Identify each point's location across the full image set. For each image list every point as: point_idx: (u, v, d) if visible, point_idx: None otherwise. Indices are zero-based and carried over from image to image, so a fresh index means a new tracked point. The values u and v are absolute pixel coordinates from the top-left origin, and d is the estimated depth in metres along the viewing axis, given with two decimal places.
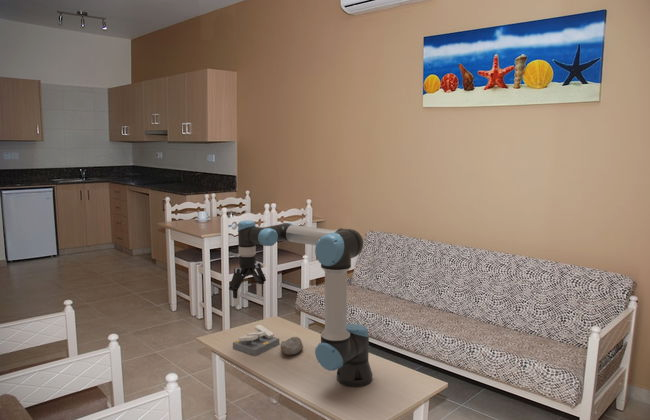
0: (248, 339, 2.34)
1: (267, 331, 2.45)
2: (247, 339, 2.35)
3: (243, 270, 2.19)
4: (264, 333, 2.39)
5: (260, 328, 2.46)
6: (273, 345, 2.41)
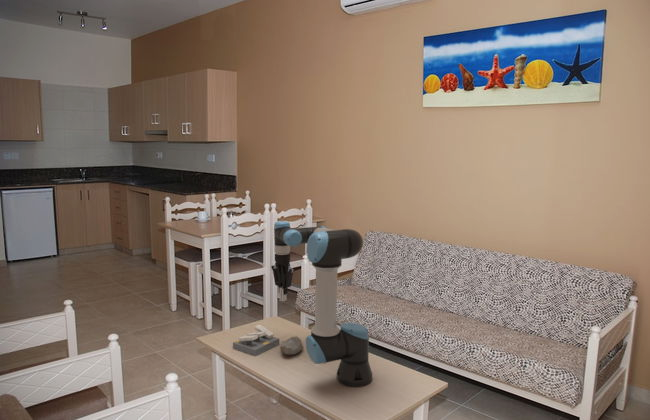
0: (248, 339, 2.34)
1: (267, 331, 2.45)
2: (247, 339, 2.35)
3: (276, 265, 2.41)
4: (264, 333, 2.39)
5: (260, 328, 2.46)
6: (273, 345, 2.41)
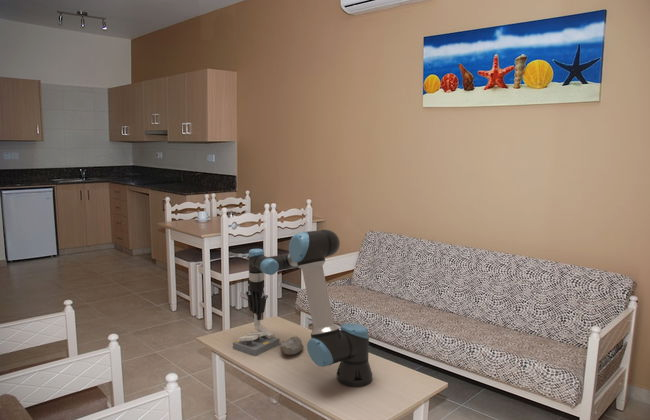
0: (248, 339, 2.34)
1: (267, 331, 2.45)
2: (247, 339, 2.35)
3: (250, 291, 2.47)
4: (264, 333, 2.39)
5: (260, 328, 2.46)
6: (273, 345, 2.41)
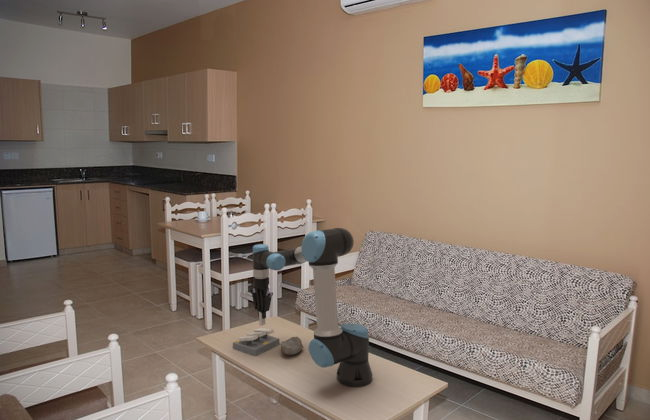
0: (248, 339, 2.34)
1: (266, 329, 2.45)
2: (247, 339, 2.35)
3: (255, 289, 2.37)
4: (264, 333, 2.39)
5: (259, 329, 2.47)
6: (273, 345, 2.41)
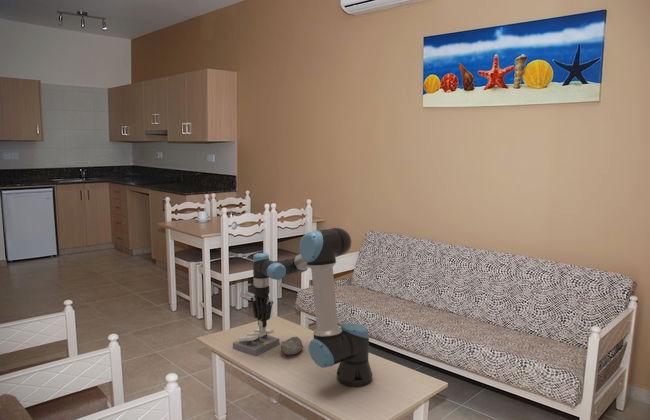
0: (248, 339, 2.34)
1: (266, 329, 2.45)
2: (247, 339, 2.35)
3: (255, 297, 2.37)
4: (264, 333, 2.39)
5: None
6: (273, 345, 2.41)
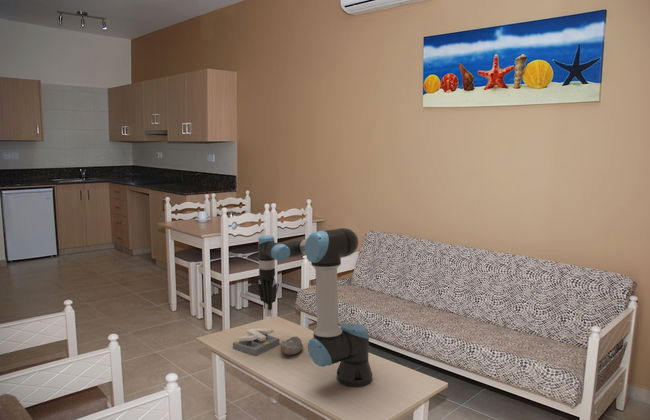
0: (248, 339, 2.34)
1: (266, 329, 2.45)
2: (247, 339, 2.35)
3: (261, 280, 2.37)
4: (265, 338, 2.39)
5: (259, 329, 2.47)
6: (273, 345, 2.41)
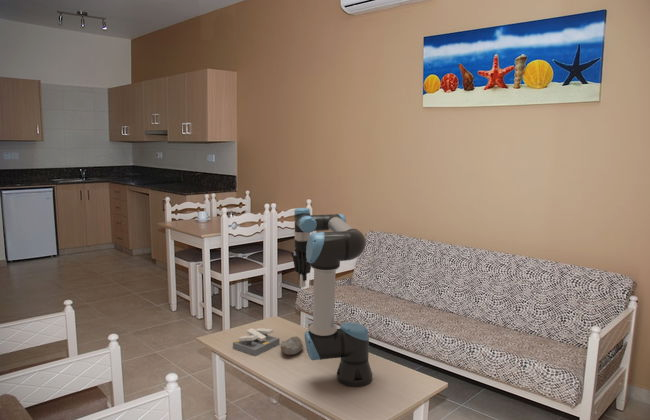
0: (248, 339, 2.34)
1: (266, 329, 2.45)
2: (247, 339, 2.35)
3: (296, 251, 2.43)
4: (265, 338, 2.39)
5: (259, 329, 2.47)
6: (273, 345, 2.41)
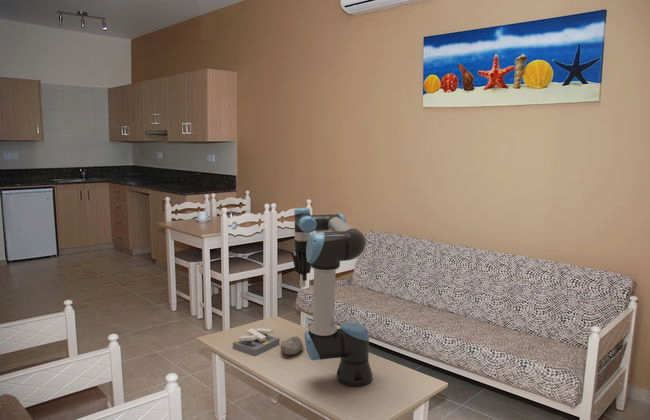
0: (248, 339, 2.34)
1: (266, 329, 2.45)
2: (247, 339, 2.35)
3: (296, 251, 2.43)
4: (265, 338, 2.39)
5: (259, 329, 2.47)
6: (273, 345, 2.41)
